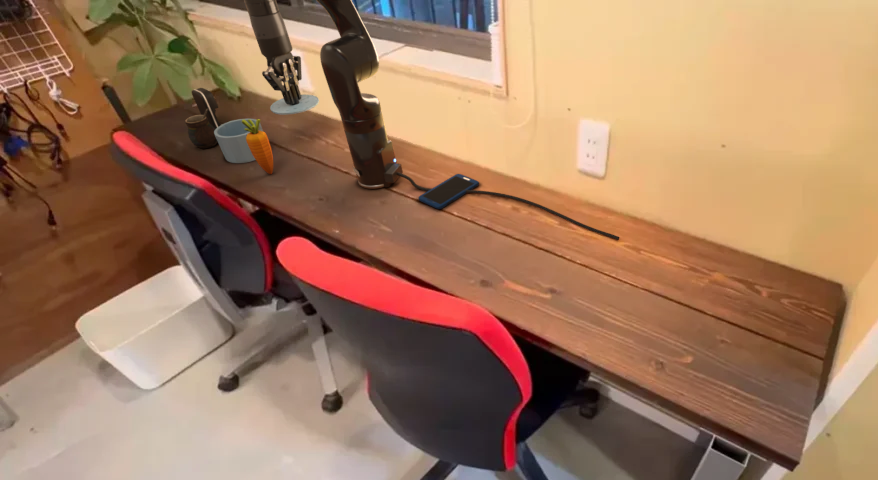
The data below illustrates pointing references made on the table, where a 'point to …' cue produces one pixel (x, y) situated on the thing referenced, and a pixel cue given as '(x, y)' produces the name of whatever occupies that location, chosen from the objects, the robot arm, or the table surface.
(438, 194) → the cell phone
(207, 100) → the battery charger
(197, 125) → the mate gourd
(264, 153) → the carrot
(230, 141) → the pot
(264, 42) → the robot arm
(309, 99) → the lid
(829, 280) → the table surface
